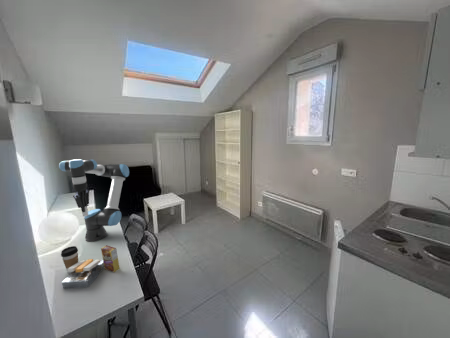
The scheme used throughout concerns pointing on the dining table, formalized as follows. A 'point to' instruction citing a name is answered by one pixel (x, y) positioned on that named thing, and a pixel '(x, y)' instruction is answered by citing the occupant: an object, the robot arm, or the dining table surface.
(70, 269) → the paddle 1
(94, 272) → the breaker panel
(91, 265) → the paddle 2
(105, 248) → the candy box
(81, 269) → the long orange bar
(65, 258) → the coffee cup
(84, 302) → the dining table surface
